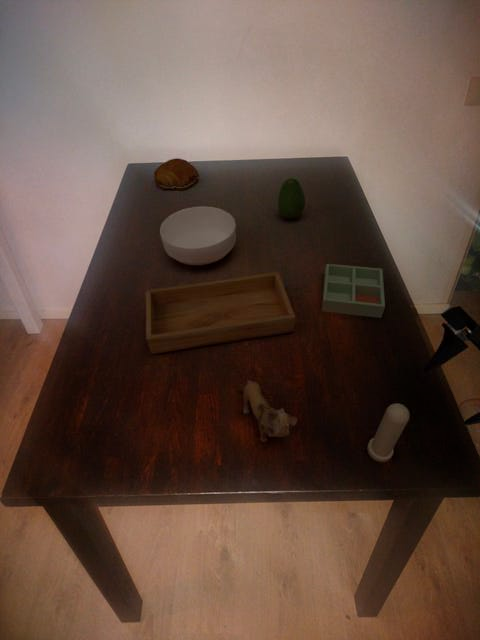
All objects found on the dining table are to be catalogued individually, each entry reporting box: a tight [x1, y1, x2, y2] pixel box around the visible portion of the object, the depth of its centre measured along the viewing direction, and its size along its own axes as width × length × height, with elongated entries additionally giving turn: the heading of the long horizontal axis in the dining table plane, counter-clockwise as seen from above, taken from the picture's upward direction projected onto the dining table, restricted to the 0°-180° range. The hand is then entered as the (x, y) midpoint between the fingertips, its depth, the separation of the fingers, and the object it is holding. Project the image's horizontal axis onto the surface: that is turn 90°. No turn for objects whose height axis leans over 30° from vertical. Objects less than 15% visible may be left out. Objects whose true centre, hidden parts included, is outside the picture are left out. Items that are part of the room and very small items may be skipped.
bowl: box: [159, 205, 237, 266], centre depth 102 cm, size 20×20×8 cm
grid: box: [321, 263, 386, 319], centre depth 89 cm, size 13×13×4 cm
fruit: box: [277, 177, 306, 220], centre depth 111 cm, size 8×8×12 cm
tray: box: [145, 271, 296, 355], centre depth 85 cm, size 31×15×6 cm, turn 100°
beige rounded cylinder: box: [366, 403, 411, 463], centre depth 59 cm, size 4×4×13 cm
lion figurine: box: [237, 380, 298, 443], centre depth 66 cm, size 15×5×9 cm, turn 35°
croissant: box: [153, 157, 200, 192], centre depth 131 cm, size 14×16×8 cm
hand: (444, 396), depth 56 cm, fingers open, 9 cm apart
